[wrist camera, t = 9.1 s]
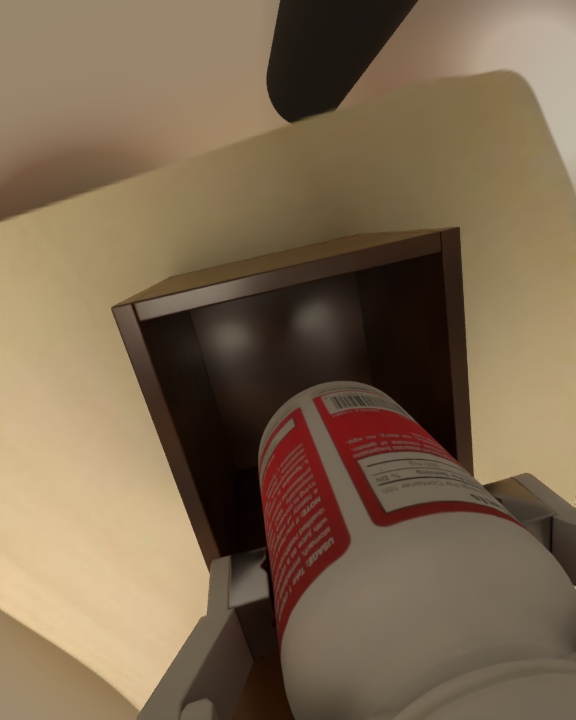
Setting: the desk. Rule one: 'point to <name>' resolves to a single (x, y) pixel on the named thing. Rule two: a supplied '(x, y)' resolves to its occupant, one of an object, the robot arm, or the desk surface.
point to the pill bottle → (404, 573)
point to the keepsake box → (294, 358)
